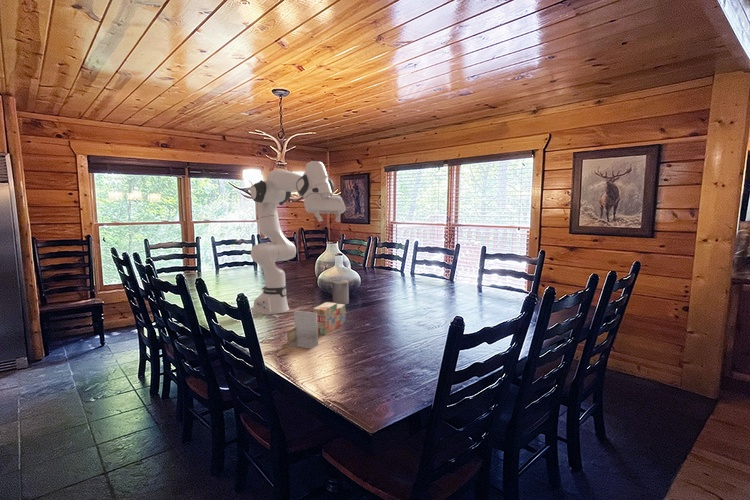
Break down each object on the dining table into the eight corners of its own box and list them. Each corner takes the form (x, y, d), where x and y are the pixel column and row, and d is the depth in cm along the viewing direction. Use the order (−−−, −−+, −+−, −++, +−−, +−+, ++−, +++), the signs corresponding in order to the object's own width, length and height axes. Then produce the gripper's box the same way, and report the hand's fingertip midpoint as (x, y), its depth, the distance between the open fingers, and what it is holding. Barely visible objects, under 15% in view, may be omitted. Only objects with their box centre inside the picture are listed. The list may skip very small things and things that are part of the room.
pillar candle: (332, 301, 242) (332, 277, 240) (348, 301, 243) (348, 277, 241) (332, 306, 232) (332, 281, 230) (349, 305, 233) (348, 280, 231)
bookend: (288, 345, 168) (287, 314, 166) (296, 341, 174) (295, 310, 172) (310, 349, 164) (309, 316, 162) (318, 344, 169) (317, 312, 168)
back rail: (287, 343, 171) (287, 329, 171) (324, 322, 201) (324, 310, 200) (290, 343, 171) (289, 330, 170) (327, 322, 200) (327, 311, 199)
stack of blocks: (335, 320, 203) (334, 297, 202) (346, 322, 201) (345, 298, 200) (313, 333, 184) (312, 308, 182) (325, 335, 181) (324, 309, 180)
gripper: (336, 197, 187) (344, 224, 184) (299, 195, 173) (306, 224, 170) (344, 191, 183) (351, 218, 179) (306, 188, 169) (314, 218, 165)
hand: (329, 221), depth 174 cm, fingers open, 8 cm apart
